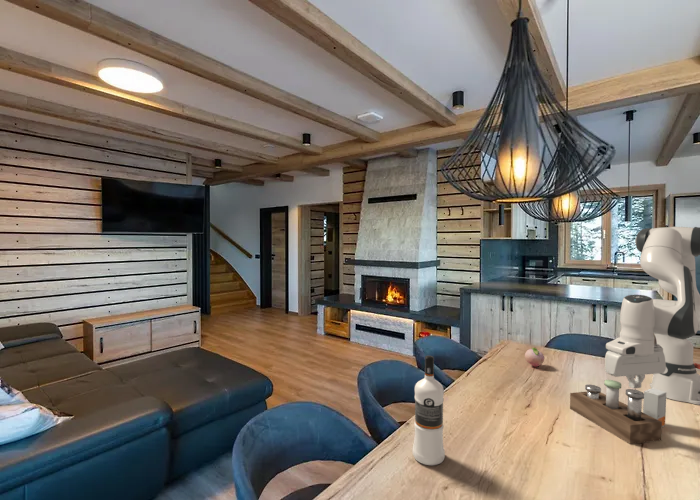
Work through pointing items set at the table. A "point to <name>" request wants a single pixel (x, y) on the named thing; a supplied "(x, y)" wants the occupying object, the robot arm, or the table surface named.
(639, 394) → the plug
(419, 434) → the vodka
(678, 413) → the table surface
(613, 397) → the plug mid
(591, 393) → the plug
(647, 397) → the skincare box
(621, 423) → the block
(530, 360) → the decorative fruit
